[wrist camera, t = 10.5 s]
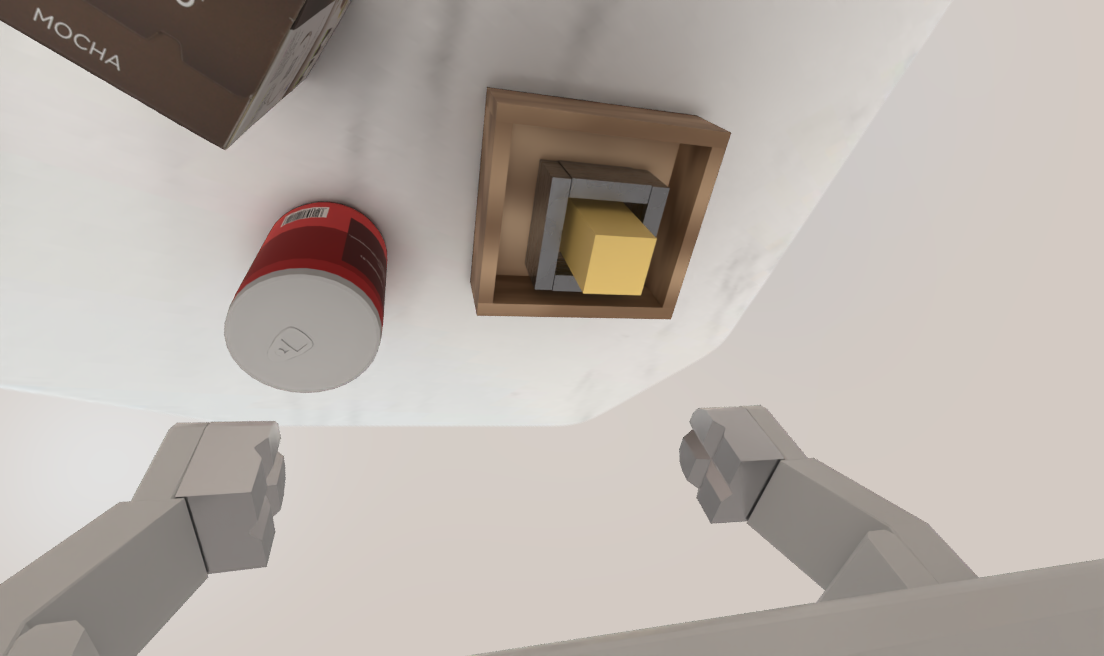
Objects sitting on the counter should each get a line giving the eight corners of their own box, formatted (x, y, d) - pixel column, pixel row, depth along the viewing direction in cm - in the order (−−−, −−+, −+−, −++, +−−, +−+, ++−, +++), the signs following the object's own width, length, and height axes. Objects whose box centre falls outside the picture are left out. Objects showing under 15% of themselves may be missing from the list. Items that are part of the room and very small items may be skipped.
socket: (539, 158, 36) (552, 176, 33) (648, 169, 38) (669, 187, 35) (524, 264, 41) (534, 290, 37) (622, 269, 43) (640, 293, 39)
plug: (563, 190, 38) (595, 234, 31) (615, 194, 39) (656, 238, 33) (555, 241, 40) (583, 293, 34) (604, 244, 41) (641, 295, 35)
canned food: (247, 264, 36) (194, 358, 28) (306, 173, 34) (270, 243, 25) (349, 316, 40) (332, 414, 31) (409, 238, 38) (409, 319, 29)
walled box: (486, 87, 34) (497, 102, 30) (696, 115, 38) (731, 132, 34) (470, 281, 41) (476, 315, 37) (647, 288, 45) (670, 319, 41)
